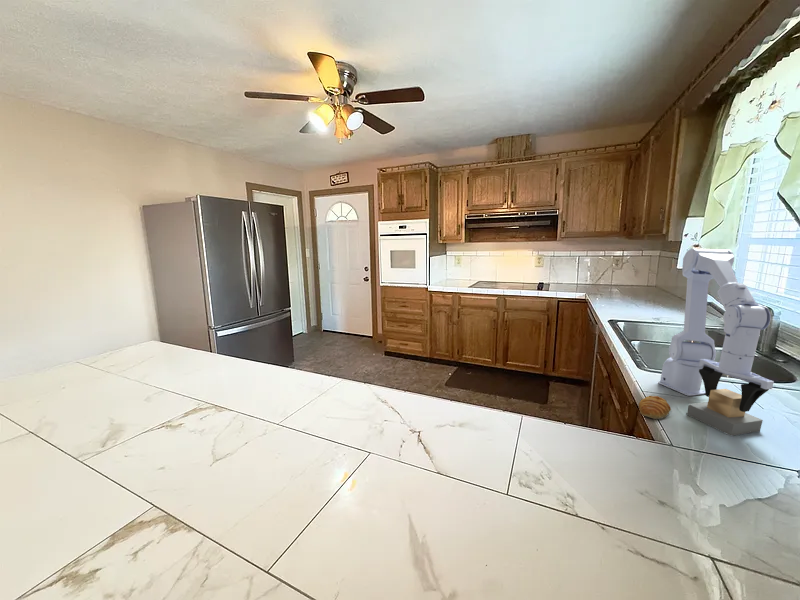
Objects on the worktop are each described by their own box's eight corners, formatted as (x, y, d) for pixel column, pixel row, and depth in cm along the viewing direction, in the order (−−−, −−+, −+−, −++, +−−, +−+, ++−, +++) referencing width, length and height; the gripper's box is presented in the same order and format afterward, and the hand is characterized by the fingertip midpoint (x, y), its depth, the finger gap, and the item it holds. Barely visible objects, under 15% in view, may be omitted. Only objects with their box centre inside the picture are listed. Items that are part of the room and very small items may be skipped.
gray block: (686, 414, 89) (688, 404, 89) (713, 410, 92) (715, 400, 91) (731, 435, 80) (733, 424, 79) (759, 431, 82) (762, 420, 82)
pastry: (664, 425, 84) (666, 411, 83) (632, 414, 89) (635, 401, 88) (671, 412, 90) (673, 399, 90) (641, 403, 95) (643, 391, 94)
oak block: (706, 407, 87) (710, 389, 86) (721, 406, 88) (725, 388, 87) (728, 417, 82) (733, 399, 81) (744, 416, 83) (748, 397, 82)
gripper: (788, 362, 76) (774, 416, 78) (717, 342, 90) (707, 389, 92) (765, 364, 75) (751, 419, 77) (697, 343, 88) (687, 391, 91)
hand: (726, 403), depth 85 cm, fingers open, 7 cm apart
